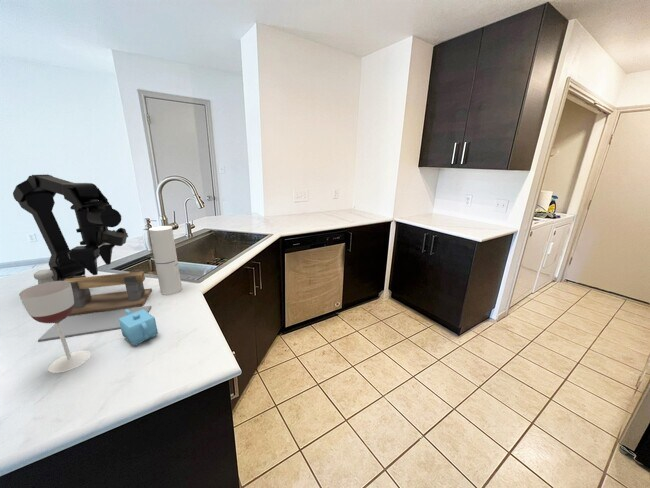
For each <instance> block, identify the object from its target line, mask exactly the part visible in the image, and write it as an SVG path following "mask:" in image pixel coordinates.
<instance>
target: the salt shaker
mask: <svg viewBox="0 0 650 488" xmlns="http://www.w3.org/2000/svg"><path fill="white" fill-rule="evenodd" d="M52 276H53V271H52V270H50V269H40V270H38V271H36V272H34V273H33V278H34V280H35V281H36V280H37V285H38V284H42V283H46V282H52V281H54V280H53V279H52Z"/></svg>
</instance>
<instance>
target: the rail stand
mask: <svg viewBox="0 0 650 488" xmlns="http://www.w3.org/2000/svg"><path fill="white" fill-rule="evenodd" d="M132 272H142V271H141V270H140V269H139V270H138V269H136V270H130V271H129V272H128V273H132ZM81 277H87V276H86V274H85V275H82V276H74V277H73V278H81ZM124 281H125V284H124V285H125V289H126V291H117V292H109V293H101V294H91V291H90V288H87V289H79V286H78V283H77V282H70V283H71V287H72V291H73V297H74V307H73V310H72V312H71V313H70V315H69V316H67V317H72V316H79V315H86V314H94V313H101V312H108V311H115V310H123V309H130V308H137V307H144V305H145V303H146V301H147V300H148V298H149V296H150V295H151V293H152V291H153V289H152V287H151V288H145V286H144V281H143V282H142V283H137V280H136V276H128V277H124Z"/></svg>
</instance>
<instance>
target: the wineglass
mask: <svg viewBox="0 0 650 488" xmlns="http://www.w3.org/2000/svg"><path fill="white" fill-rule="evenodd" d="M18 296H19V298H20V300H21V303H22V305H23V307H24V309H25V311H26V312H27V314H28V316H29V317H31V318H32V319H33V320H35V321H36V322H39V323H42V324H56V327H57V330H58V333H59V336H60V338H59V339H60V342H61V344H62V347H63V350H64V353H65V355H63V356H61V357H59V358H57V359H56V360H54V361H53V362H52V363H51V364H50V365H49V367H48V371H49V372H50V373H52V374H53V373H54V374H57V373H65V372H68V371H71V370H72V369H76V368H78V367H80V366H82V365H83V364H84V363H86V362H87V361H88V360H89V359H90V357H91V352H90V351H89V350H76V351H72V352H70V349H69V345H68V342H67V339H66V337H65V336H64V333H63V330H62V327H61V324H60V321H62V320H63V319H65V318H66V317H67V316H68V317H70V316H69V315H70V313H71V312H72V310H73V307H74V297H73V291H72V287H71V283H70V282H68V281H52V282H46V283H42V284H38V283H37V284H35V285H33V286H30V287H27V288H25V289H23V290H21V291H20V292H19V294H18Z"/></svg>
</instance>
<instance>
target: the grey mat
mask: <svg viewBox="0 0 650 488" xmlns="http://www.w3.org/2000/svg"><path fill="white" fill-rule="evenodd" d="M127 309H128V310H130V312H131V313H135V312H137V311H140V310H142V309H144V310H145V311H147V312H148V313H149V312H150V310H151V309H152V305H145V306H141V307H134V308H127ZM125 310H126V309H119V310H112V311H105V312H97V313H90V314H83V315H75V316H68V317H66V318H65V319H63V320H62V321H60V324H61V327H62V330H63V333H64V336H65V338H70V337H78V336H83V335H84V336H85V335H90V334H97V333H104V332H109V331H115V330H121V327H120V323H119V318H122V317H124V316H127V313H126V311H125ZM149 314H150V313H149ZM58 339H60V336H59V333H58V330H57V327H56V324H55V323H53V325H52V326H51V327H50V328H49V329H48V330H47V331H46V332H45V333H43V334H42V335H41V336H40V337H39V338H38V339H37V342H38V343H39V342H45V341H46V342H47V341H51V340H58Z"/></svg>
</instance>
